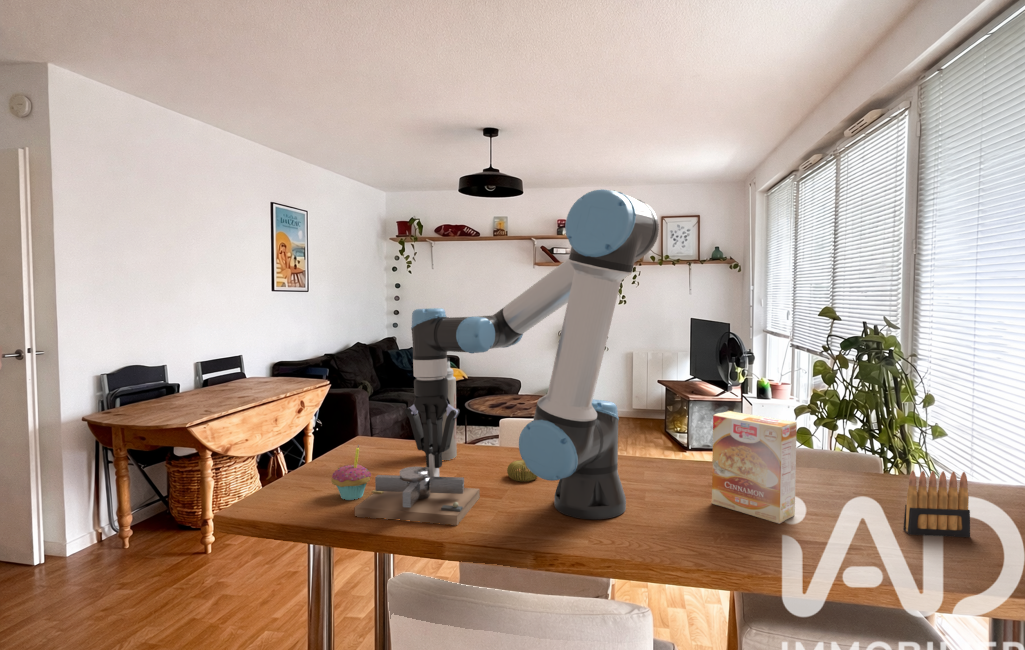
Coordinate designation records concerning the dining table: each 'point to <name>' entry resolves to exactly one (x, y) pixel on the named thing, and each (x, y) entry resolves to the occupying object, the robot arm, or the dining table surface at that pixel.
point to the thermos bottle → (452, 450)
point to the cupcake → (351, 479)
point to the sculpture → (523, 473)
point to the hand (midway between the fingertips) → (434, 481)
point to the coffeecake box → (754, 465)
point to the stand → (419, 506)
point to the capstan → (418, 484)
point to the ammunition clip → (937, 507)
